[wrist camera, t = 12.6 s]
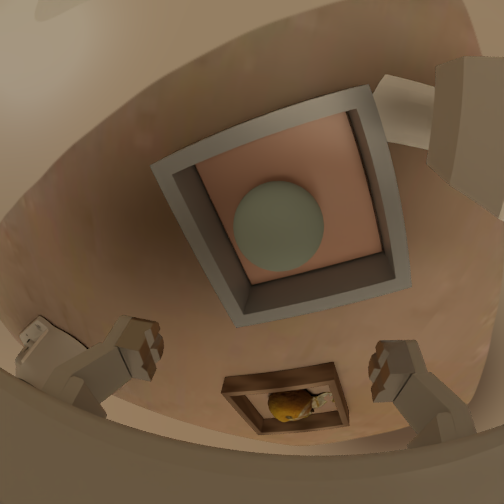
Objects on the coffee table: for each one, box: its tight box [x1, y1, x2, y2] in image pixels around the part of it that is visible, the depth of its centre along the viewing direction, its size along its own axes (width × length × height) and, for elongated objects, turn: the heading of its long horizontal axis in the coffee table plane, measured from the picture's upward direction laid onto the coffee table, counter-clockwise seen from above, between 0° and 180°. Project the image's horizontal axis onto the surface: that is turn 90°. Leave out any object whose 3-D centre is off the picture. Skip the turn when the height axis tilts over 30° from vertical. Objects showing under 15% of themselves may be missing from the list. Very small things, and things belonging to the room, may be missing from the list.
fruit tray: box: [221, 362, 349, 435], centre depth 34 cm, size 14×13×2 cm
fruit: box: [268, 389, 335, 422], centre depth 34 cm, size 8×8×4 cm
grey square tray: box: [150, 84, 412, 328], centre depth 20 cm, size 14×14×4 cm
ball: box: [233, 181, 324, 272], centre depth 19 cm, size 6×6×6 cm
